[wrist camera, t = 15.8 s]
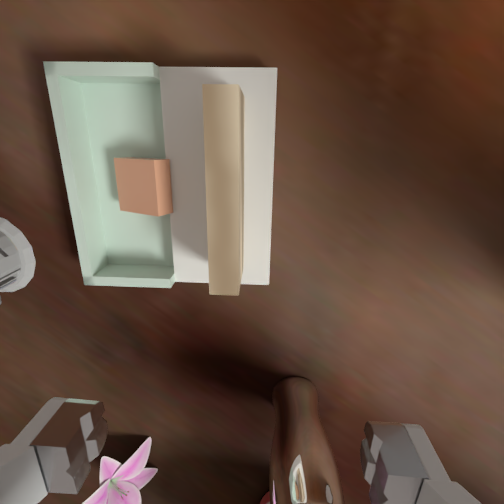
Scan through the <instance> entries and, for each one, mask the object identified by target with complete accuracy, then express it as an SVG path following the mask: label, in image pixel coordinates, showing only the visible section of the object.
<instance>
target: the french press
mask: <svg viewBox="0 0 504 504" xmlns="http://www.w3.org/2000/svg"><path fill="white" fill-rule="evenodd" d="M35 264H36V261H35V258H34V254H33V250H32V246H31V245H30V244H29V242H28V241H27V239H26V238H25V236H24V235H23V233H22V232H21V231H20V230H19V229H17V228H16V227H15V226H14V225H12V224H11V223H10V222H9V221H7V220H6V219H3V218H1V217H0V292H14V291H16V290H18V289H21V288H23V287H25V286H26V285H27V284H28V282H29V281H30V280H31V279H32V277H33V276H34V270H35ZM0 304H1V297H0Z"/></svg>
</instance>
